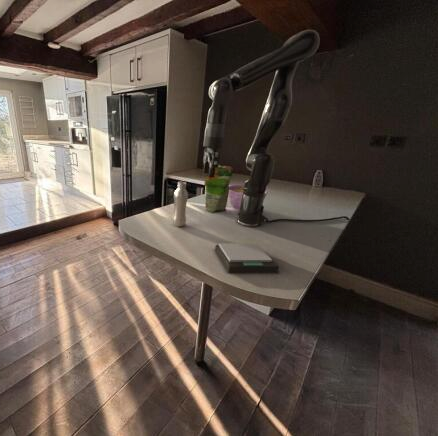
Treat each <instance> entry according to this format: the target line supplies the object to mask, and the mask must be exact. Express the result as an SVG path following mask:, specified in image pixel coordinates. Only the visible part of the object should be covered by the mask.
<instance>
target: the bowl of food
mask: <svg viewBox="0 0 438 436" xmlns="http://www.w3.org/2000/svg"><path fill="white" fill-rule="evenodd" d="M243 189H244V184H232V185H229V194H228V202H229V204H230V206H231V207H232V208H234V209H235V210H236V211H238V212H239V211H240V205H241V200H242V195H243ZM267 195H268V190H266V191H265V196H264V200H263V202H264V201H265V198H266V197H267Z"/></svg>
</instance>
